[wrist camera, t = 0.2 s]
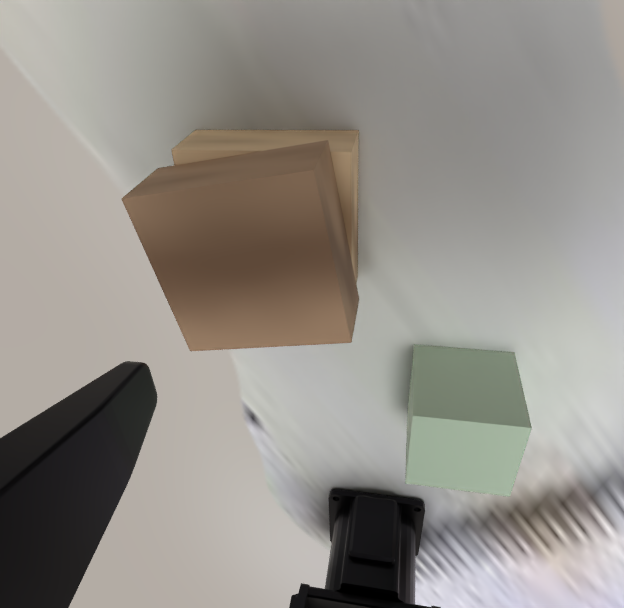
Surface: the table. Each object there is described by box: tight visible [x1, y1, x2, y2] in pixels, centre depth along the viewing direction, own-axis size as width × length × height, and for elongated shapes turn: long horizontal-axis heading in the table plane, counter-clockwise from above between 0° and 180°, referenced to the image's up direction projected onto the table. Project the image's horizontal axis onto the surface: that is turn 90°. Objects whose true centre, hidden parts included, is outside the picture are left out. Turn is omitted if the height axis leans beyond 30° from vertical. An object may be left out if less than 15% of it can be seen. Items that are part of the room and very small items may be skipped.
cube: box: [405, 345, 532, 497], centre depth 25 cm, size 5×5×5 cm
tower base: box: [171, 130, 359, 282], centre depth 22 cm, size 7×7×3 cm
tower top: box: [122, 140, 359, 351], centre depth 19 cm, size 7×7×3 cm
